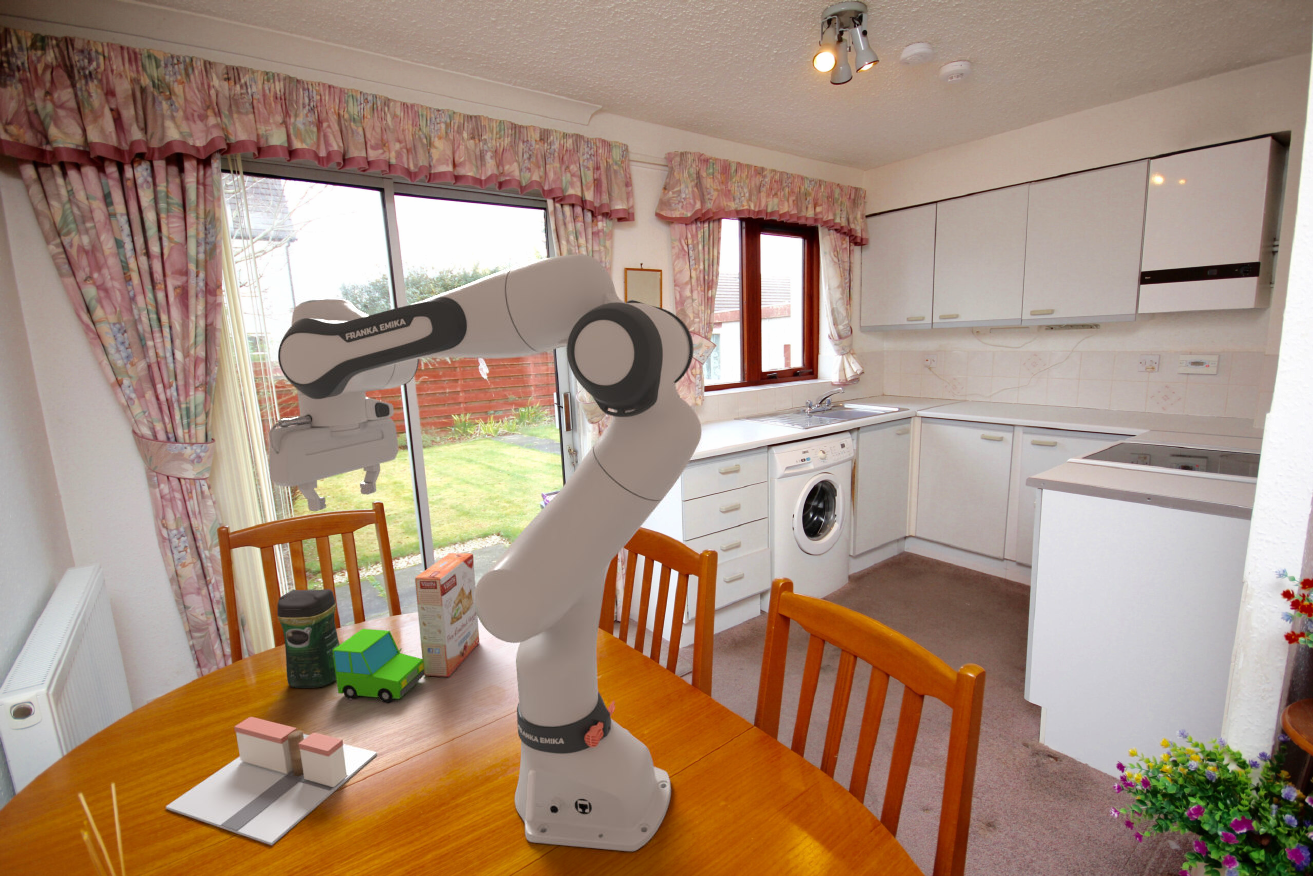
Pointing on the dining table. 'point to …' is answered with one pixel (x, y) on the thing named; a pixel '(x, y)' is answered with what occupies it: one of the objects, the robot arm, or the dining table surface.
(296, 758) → the hinge post
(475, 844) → the dining table surface
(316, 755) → the fixed fence panel
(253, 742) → the folding fence panel
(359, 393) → the robot arm
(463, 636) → the cracker box
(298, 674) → the coffee jar
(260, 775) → the card
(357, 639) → the toy car
